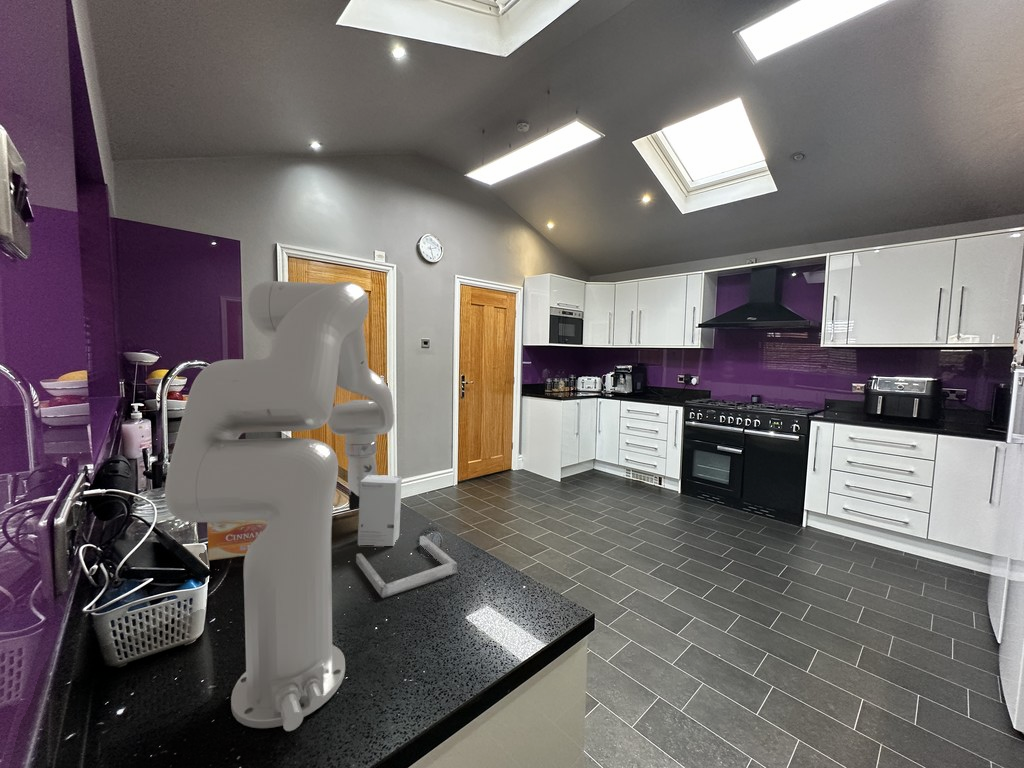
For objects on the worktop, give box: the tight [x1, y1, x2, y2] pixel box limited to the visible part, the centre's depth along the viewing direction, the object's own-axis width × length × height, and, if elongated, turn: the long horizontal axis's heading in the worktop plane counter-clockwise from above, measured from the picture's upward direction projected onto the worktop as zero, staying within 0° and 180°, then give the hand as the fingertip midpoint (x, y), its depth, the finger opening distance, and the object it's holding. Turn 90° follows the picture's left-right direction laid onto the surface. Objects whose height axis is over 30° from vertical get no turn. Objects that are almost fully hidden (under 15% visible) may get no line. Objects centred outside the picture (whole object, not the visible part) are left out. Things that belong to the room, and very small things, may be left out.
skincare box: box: [357, 474, 403, 547], centre depth 92 cm, size 8×6×15 cm
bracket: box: [355, 535, 458, 599], centre depth 81 cm, size 15×15×2 cm
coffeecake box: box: [206, 520, 267, 561], centre depth 86 cm, size 15×7×20 cm, turn 114°
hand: (361, 514), depth 103 cm, fingers open, 9 cm apart
